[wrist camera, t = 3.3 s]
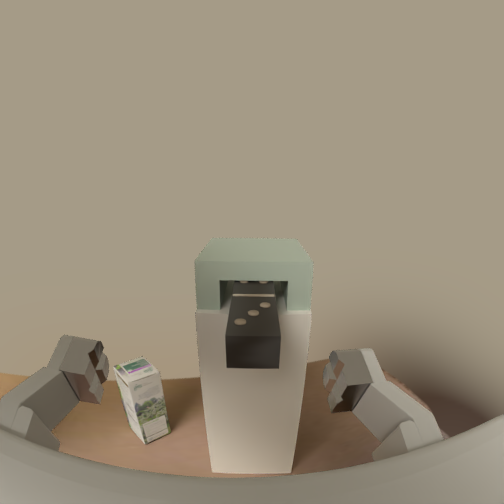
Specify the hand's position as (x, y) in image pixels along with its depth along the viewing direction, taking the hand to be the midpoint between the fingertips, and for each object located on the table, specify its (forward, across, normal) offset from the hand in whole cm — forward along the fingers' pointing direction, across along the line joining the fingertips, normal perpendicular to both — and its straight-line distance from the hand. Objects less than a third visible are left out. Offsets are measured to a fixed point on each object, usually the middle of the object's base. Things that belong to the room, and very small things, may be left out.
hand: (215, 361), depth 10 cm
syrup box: (+17, +12, +43) cm, 48 cm away
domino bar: (+14, -4, +12) cm, 19 cm away
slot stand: (+14, -6, +41) cm, 44 cm away
